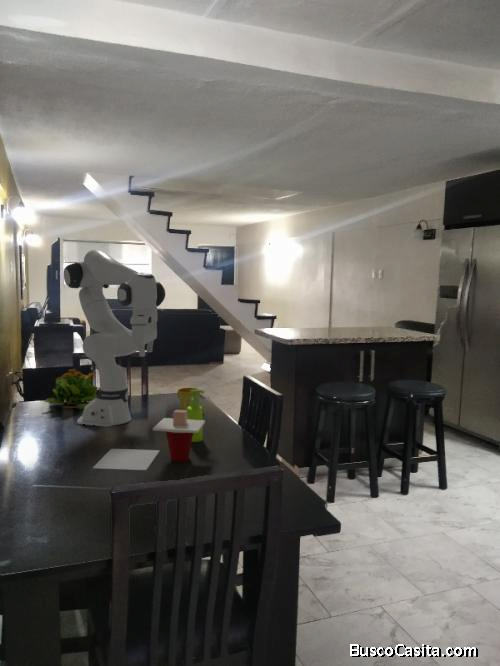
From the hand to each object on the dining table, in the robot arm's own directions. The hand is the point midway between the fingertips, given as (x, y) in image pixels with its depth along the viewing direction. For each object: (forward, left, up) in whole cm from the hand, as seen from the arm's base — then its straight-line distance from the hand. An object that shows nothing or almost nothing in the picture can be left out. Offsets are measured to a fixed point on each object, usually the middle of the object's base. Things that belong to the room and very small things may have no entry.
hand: (146, 354), depth 187 cm
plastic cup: (+16, -16, -34) cm, 41 cm away
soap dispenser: (+18, +4, -34) cm, 39 cm away
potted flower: (-50, +46, -34) cm, 76 cm away
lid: (+16, -16, -22) cm, 32 cm away
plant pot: (+7, +45, -34) cm, 57 cm away
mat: (-2, -18, -34) cm, 39 cm away
